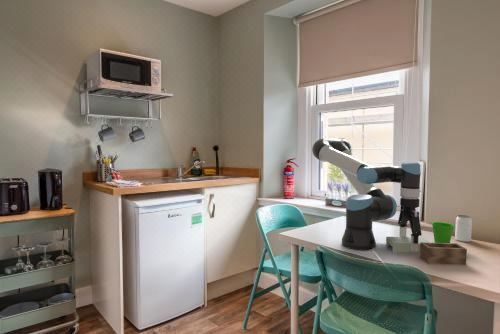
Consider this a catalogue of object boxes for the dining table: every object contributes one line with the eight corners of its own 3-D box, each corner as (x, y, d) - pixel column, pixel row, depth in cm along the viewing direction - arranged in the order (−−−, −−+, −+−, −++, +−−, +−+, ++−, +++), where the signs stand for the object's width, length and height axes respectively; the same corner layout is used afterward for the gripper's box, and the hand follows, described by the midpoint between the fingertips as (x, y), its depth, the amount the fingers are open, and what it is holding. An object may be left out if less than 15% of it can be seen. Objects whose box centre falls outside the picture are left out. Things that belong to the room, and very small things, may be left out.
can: (473, 242, 147) (474, 218, 146) (458, 241, 149) (459, 217, 148) (467, 238, 154) (468, 215, 153) (452, 237, 155) (453, 214, 154)
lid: (392, 252, 132) (393, 242, 132) (386, 246, 141) (386, 236, 141) (432, 254, 131) (432, 243, 130) (422, 247, 140) (422, 237, 139)
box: (427, 265, 120) (428, 247, 119) (419, 258, 126) (420, 242, 126) (466, 266, 118) (466, 249, 117) (456, 260, 125) (456, 243, 124)
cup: (432, 243, 146) (433, 220, 146) (454, 247, 141) (455, 223, 140) (428, 248, 139) (429, 224, 139) (452, 252, 134) (453, 227, 133)
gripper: (432, 202, 122) (430, 255, 123) (407, 193, 146) (406, 237, 147) (412, 202, 123) (410, 254, 124) (391, 193, 147) (390, 237, 148)
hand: (408, 245), depth 136 cm, fingers open, 12 cm apart
